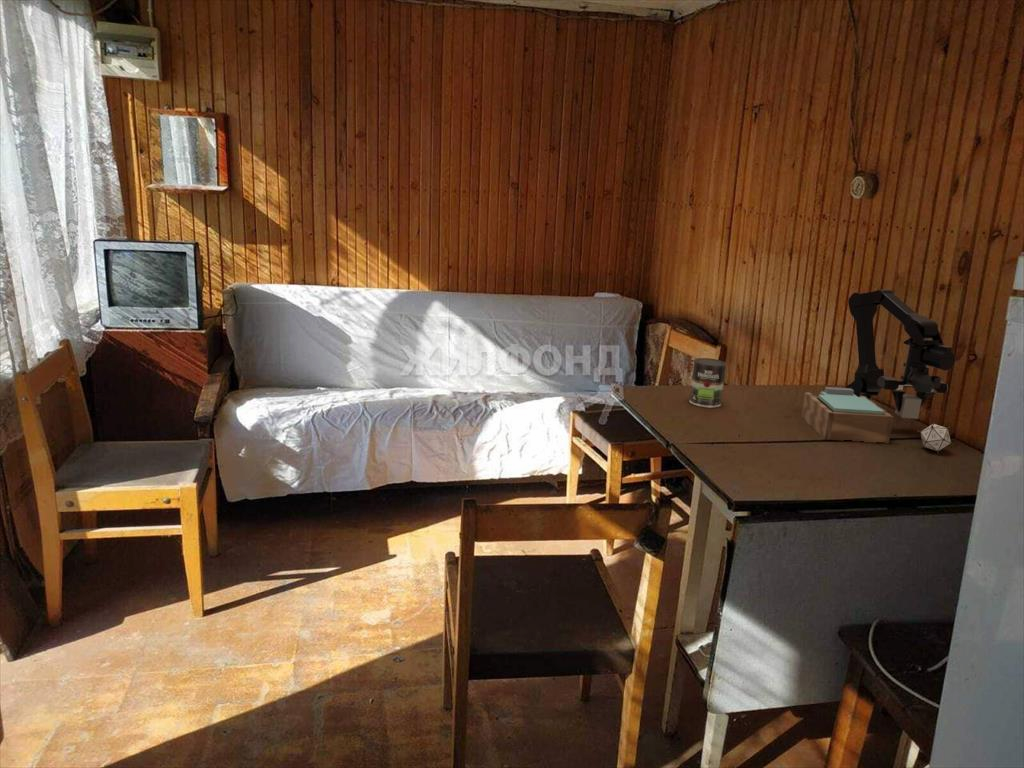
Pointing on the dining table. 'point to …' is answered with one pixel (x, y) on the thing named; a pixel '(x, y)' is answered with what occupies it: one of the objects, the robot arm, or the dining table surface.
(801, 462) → the dining table surface
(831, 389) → the trapdoor
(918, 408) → the grey block
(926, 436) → the game die
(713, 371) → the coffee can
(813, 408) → the box frame
